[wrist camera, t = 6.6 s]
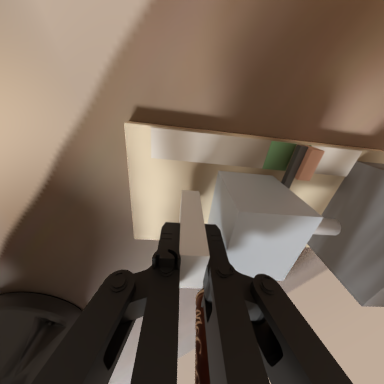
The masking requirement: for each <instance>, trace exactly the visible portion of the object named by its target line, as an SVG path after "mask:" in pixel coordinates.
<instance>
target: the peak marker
mask: <svg viewBox="0 0 384 384" xmlns="http://www.w3.org/2000/svg"><path fill="white" fill-rule="evenodd" d="M297 145H300V144H297ZM297 145H296V146H297ZM305 146H308V150H307V152H306V154H305V156H304V158H303V160H302V163H301V165H300V167H299V169H298V171H297V173H296V176H295V178H296V179H297V180H304V181H310V179H311V177H312V176H313V174H314V172H315V170H316V168H317V166H318V164H319V162H320V160H321V158H322V156H323V154H324V152H325V151H323V150H320V149H317V148H314V147H312V146H309V145H305ZM295 148H296V147H295ZM293 153H294V152H293ZM290 160H291V159H290ZM288 165H289V164H288ZM287 167H288V166H287ZM285 172H286V171H285Z"/></svg>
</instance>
